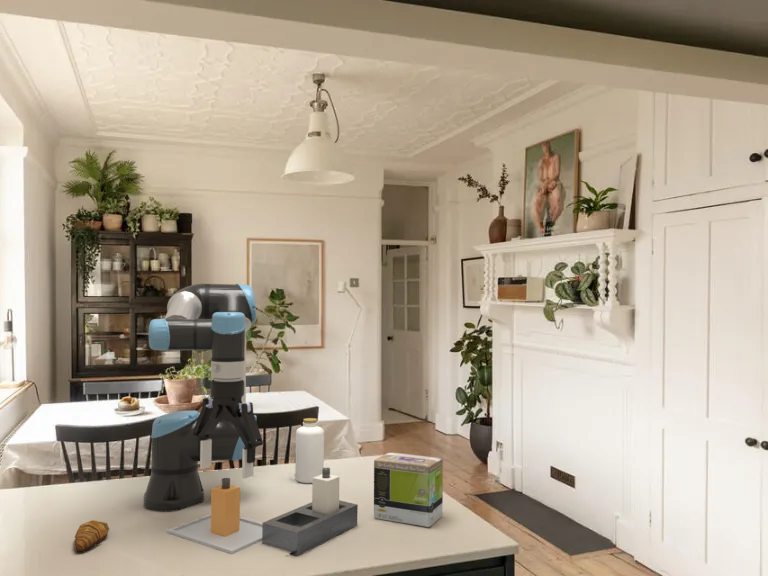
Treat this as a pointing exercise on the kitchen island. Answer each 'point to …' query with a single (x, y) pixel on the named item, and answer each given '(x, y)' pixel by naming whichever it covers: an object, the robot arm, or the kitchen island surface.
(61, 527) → the kitchen island surface
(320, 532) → the grey bottle rack
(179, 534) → the tray
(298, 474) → the white bottle
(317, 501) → the white square bottle
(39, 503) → the kitchen island surface
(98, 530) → the croissant
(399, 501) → the tea box
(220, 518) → the orange square bottle
